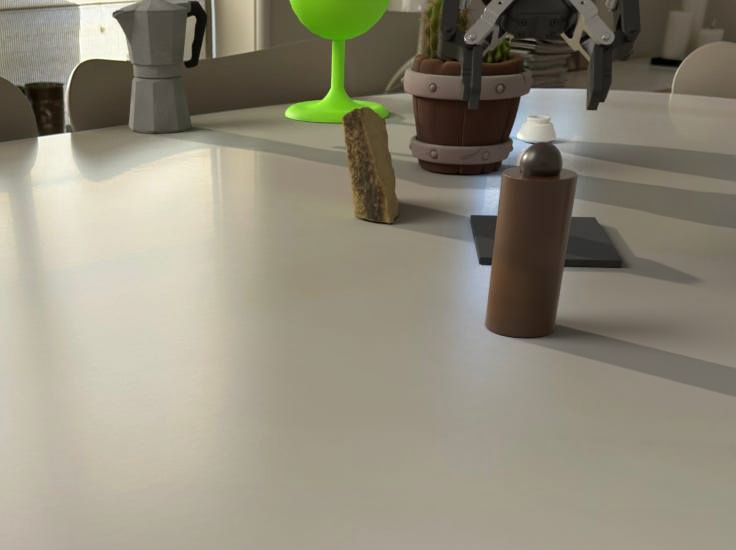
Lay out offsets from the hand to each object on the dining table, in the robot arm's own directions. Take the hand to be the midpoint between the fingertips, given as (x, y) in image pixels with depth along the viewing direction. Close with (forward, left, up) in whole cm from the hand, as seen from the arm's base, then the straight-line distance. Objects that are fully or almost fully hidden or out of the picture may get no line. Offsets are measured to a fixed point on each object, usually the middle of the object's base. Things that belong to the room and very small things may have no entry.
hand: (534, 102), depth 77 cm
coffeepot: (+43, -79, -14) cm, 91 cm away
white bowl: (-9, -71, -14) cm, 73 cm away
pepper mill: (0, +9, -14) cm, 16 cm away
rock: (+11, -28, -14) cm, 34 cm away
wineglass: (+19, -93, -14) cm, 96 cm away
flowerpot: (+2, -52, -14) cm, 54 cm away
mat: (-4, -16, -14) cm, 22 cm away
